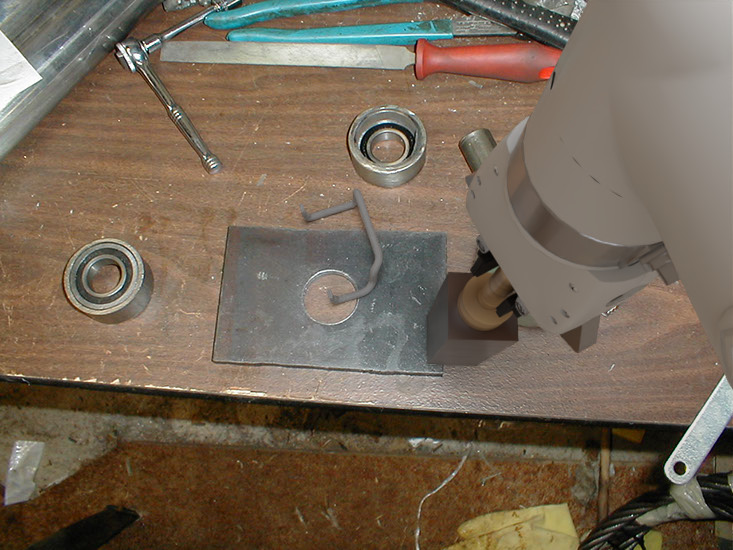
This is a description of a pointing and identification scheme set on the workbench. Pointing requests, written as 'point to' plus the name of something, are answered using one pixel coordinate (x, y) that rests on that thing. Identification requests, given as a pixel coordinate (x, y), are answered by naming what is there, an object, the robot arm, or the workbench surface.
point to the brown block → (462, 329)
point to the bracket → (372, 236)
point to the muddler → (484, 300)
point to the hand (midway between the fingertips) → (502, 284)
